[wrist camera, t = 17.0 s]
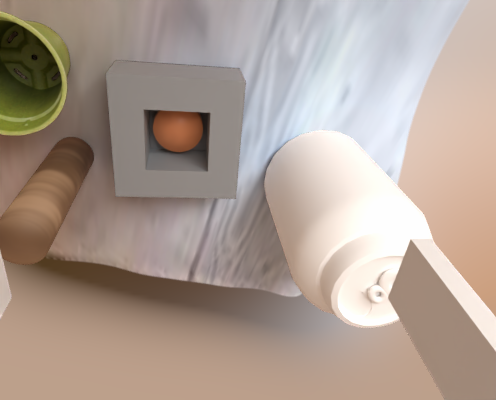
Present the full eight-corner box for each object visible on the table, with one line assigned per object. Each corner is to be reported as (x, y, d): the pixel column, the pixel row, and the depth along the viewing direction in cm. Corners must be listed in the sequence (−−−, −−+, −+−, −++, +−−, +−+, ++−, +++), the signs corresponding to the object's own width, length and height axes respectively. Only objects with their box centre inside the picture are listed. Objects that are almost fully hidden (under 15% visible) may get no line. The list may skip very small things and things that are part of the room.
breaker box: (115, 60, 39) (105, 73, 34) (239, 68, 41) (245, 81, 36) (123, 172, 45) (115, 196, 40) (231, 175, 47) (235, 198, 42)
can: (332, 104, 44) (423, 193, 27) (383, 182, 50) (484, 296, 33) (241, 171, 47) (271, 291, 30) (299, 238, 53) (352, 370, 35)
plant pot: (18, -26, 35) (-28, -23, 27) (109, 55, 39) (91, 77, 32) (-40, 54, 37) (-97, 77, 30) (52, 123, 42) (22, 158, 34)
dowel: (51, 136, 42) (-17, 219, 28) (91, 138, 43) (44, 220, 29) (56, 171, 44) (-5, 264, 30) (95, 172, 45) (52, 264, 31)
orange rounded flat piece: (153, 98, 41) (152, 103, 40) (203, 101, 42) (203, 106, 40) (154, 144, 44) (153, 151, 42) (201, 146, 44) (202, 152, 43)
